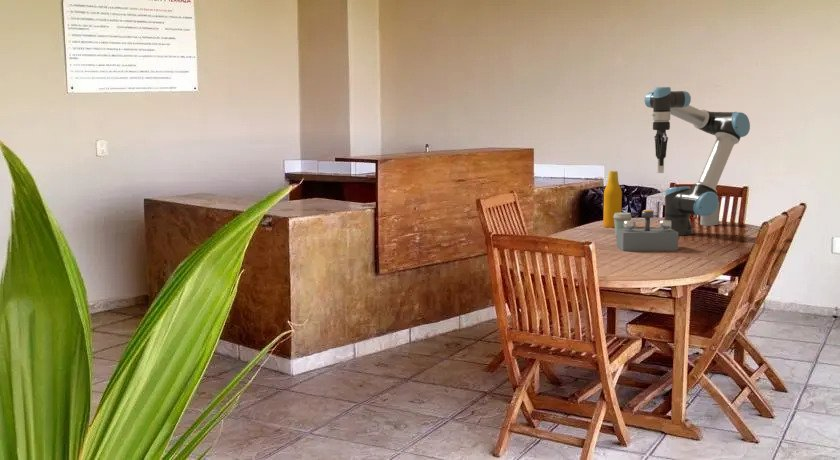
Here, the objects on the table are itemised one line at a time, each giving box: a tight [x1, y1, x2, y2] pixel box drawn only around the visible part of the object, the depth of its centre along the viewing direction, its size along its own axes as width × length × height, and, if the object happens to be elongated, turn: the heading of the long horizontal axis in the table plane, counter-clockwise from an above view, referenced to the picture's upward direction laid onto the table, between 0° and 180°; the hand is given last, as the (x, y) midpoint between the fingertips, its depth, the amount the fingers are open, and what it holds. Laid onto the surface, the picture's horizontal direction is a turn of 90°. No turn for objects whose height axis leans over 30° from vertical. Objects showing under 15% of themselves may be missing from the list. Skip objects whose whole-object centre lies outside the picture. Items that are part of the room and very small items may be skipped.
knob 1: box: [624, 220, 636, 231], centre depth 386 cm, size 5×5×12 cm
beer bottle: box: [602, 170, 623, 229], centre depth 454 cm, size 9×9×29 cm
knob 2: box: [659, 219, 672, 231], centre depth 387 cm, size 5×5×12 cm
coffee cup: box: [614, 211, 632, 239], centre depth 416 cm, size 8×8×12 cm
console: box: [616, 227, 679, 252], centre depth 387 cm, size 24×12×8 cm, turn 90°
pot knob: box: [641, 209, 655, 231], centre depth 386 cm, size 5×5×12 cm
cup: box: [699, 201, 720, 227], centre depth 458 cm, size 9×9×12 cm
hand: (660, 172), depth 401 cm, fingers closed
